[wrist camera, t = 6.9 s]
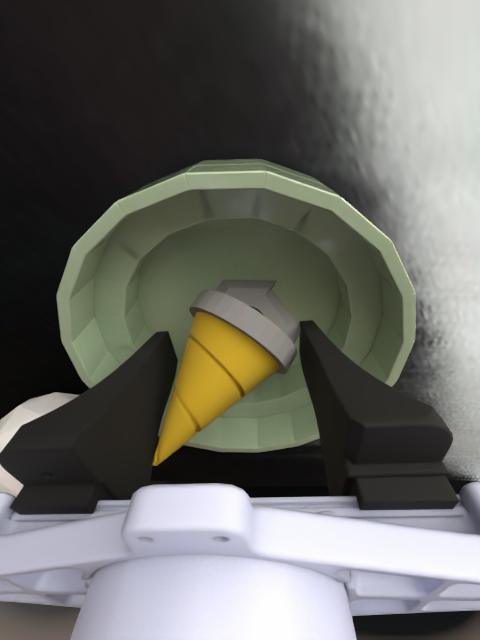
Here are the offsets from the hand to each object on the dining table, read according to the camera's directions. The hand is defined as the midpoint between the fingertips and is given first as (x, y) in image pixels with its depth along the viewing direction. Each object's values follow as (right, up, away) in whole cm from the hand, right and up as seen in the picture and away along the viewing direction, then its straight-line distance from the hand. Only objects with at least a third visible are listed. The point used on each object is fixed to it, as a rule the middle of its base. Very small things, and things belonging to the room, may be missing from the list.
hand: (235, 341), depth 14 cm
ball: (-13, -6, +9) cm, 17 cm away
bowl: (0, +2, +3) cm, 3 cm away
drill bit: (0, +1, +2) cm, 2 cm away
